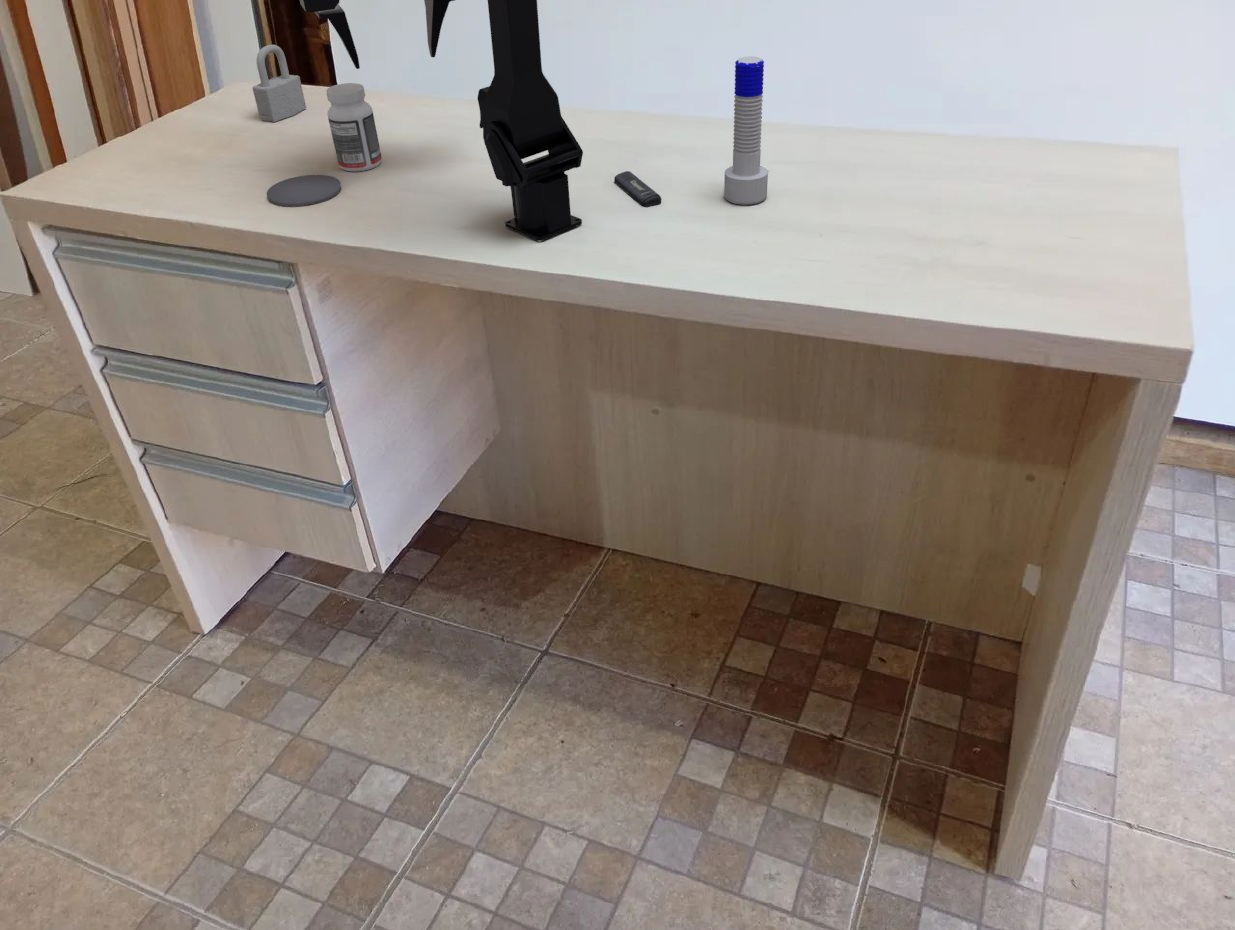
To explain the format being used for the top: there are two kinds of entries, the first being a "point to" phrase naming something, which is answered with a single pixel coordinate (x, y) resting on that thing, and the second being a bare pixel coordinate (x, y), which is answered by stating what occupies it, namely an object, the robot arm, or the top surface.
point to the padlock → (277, 89)
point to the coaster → (304, 190)
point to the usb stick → (637, 189)
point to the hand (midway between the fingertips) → (395, 62)
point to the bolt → (747, 136)
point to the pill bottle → (353, 128)
